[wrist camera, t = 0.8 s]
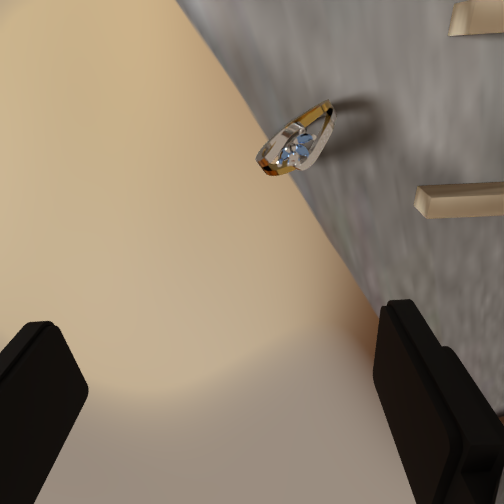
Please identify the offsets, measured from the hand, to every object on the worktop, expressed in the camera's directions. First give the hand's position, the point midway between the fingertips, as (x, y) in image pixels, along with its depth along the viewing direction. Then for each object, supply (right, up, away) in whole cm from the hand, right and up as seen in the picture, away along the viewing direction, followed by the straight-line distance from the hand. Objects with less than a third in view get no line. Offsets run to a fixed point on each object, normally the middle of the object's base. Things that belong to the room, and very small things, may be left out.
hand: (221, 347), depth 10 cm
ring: (+4, +14, +20) cm, 25 cm away
